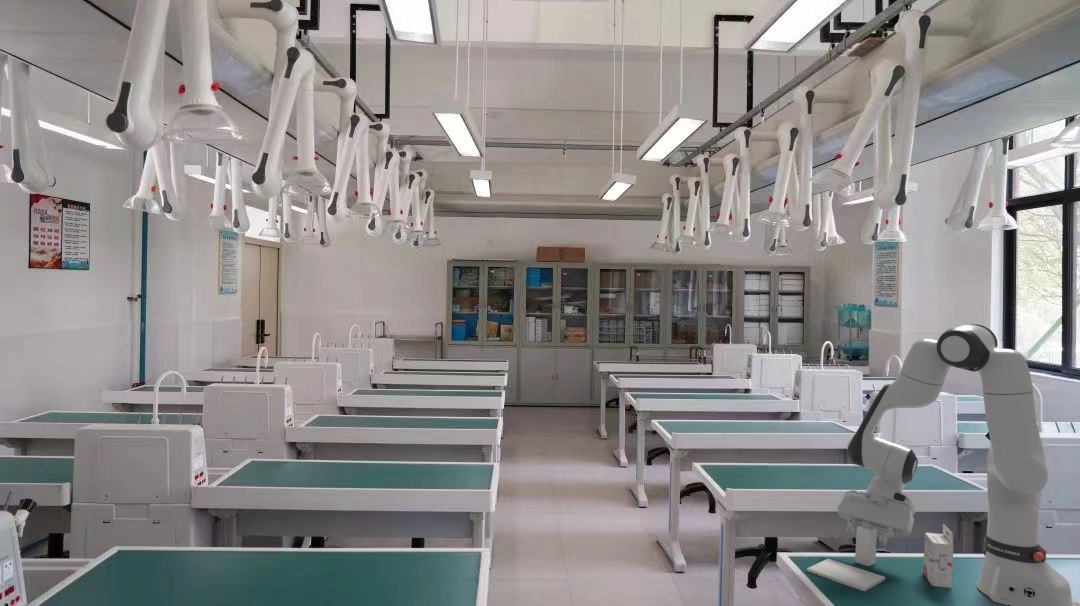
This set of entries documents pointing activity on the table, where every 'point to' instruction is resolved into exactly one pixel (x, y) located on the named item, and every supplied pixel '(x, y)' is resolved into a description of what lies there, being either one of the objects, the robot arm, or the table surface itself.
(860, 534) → the white tall rectangular block
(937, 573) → the ink cartridge box
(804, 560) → the table surface
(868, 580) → the white spiral notebook
